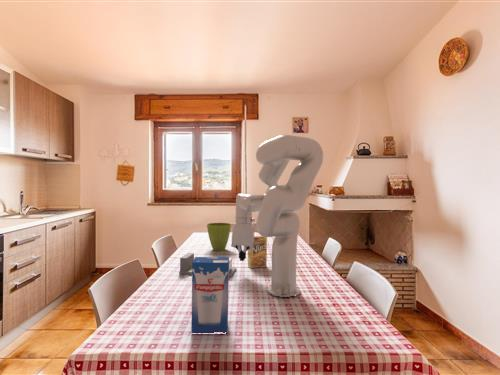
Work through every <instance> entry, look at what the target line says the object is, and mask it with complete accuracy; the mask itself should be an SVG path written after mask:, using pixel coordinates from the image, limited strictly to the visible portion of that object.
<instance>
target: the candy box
mask: <svg viewBox="0 0 500 375" xmlns="http://www.w3.org/2000/svg"><path fill="white" fill-rule="evenodd" d="M267 247H268V237H263V236H261V235H254V248H252V249H248V250H247V266H248V267H249V268H250V269H253V268H254V269H255V268H256V269H257V268H267V265H268V264H267V261H268V260H267V258H268V257H267V255H268V254H267V253H268V251H267V250H268V248H267Z"/></svg>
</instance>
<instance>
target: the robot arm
mask: <svg viewBox="0 0 500 375" xmlns="http://www.w3.org/2000/svg"><path fill="white" fill-rule="evenodd" d="M255 158H256V161H257V163H259V164H261V165H262V167H261V168H260V170H259V172H258V178H259V179H260V181H262V183H264V184H265V185H266V186H267V189H266V191H265V192H264V194H256V193H255V194H250V193H238V194H236V197H235V198H236V199H235V219H234V220H235V222H234V223H233V226H232V231H231V244H230V246H231V248H234V249H236V250H237V251H238V259H239V261H242V262H244V261H245V260H246V258H247V252H248V249H252V248H254V236H255V227H256V230H257V233H258V234H259V236H263V237H267V238H273V237H274V239H273V242H272V245H271V277H270V278H271V284H270V285H268V287H267V291H266V292H267V293H268V294H269V295H271V294H272V295H271V296H273V295H275V296H274V297H276V296H280V297H279V298H282V297H290V296H295V295H298V294H299V293H300V294H301V289H300V288H299V287H297V256H298V255H297V252H298V237H299V233H300V227H301V226H300V225H301V221H300V217H299V215H298V214H297V213H296V211H299V210H301V209H303V207H304V206H305V203H306V201H307V198H308V196H309V193H310V192H311V189H312V187H313V184H314V181H315V179H316V177H317V175H318V174H319V171H320V169H321V167H322V165H323V161H324V153H323V148H322V146H321V144H320V143H319V142H318V141H317V140H315V139H314V138H310V137H306V136H305V137H304V136H300V135H299V136H297V135H293V134H291V135H290V134H282V135H278V136H276V137H274V138H271V139H269V140H265V141H264V142H263V143H261V144H260V145H259V146H258V147H257V149H256V153H255ZM290 161H300V162H299V164H297V165H296V166H295V168H294V169H292V171H291V173H290V176H289V179H288V181H287V183H286V184H284V185H283V184H282V185H278V182H279V180H280V178H281V176H282V175H283V173H284V171H285V169H286V167H287V166H288V164H289V163H290ZM256 212H258V215H257V217H256V219H255V218H253V213H256ZM254 222H256V224H255V225H256V226H255V225H254ZM300 294H299V295H300ZM299 295H298V296H299ZM295 297H296V296H295ZM290 298H291V297H290Z"/></svg>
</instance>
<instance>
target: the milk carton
mask: <svg viewBox="0 0 500 375" xmlns="http://www.w3.org/2000/svg"><path fill="white" fill-rule="evenodd" d="M229 258H230V257H229V256H224V257H223V256H194V260H193V262H192V275H191V331H190V332H191V333H214V332H223V333H225V332H227V333H228V329H227V328H228V327H229V326H228V325H229V287H230V285H229V282H230V281H229V280H230V278H229Z"/></svg>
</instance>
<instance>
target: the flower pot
mask: <svg viewBox="0 0 500 375" xmlns="http://www.w3.org/2000/svg"><path fill="white" fill-rule="evenodd" d="M206 228H207V235H208V238H209V241H210V245H211V248H212V250H213V251H216V252H219V251H221V252H222V251H224V250H225V249H226V248H227V245H228V241H229V238H230V234H231V233H230V232H231V228H232V224H231V223H229V222H211V223H206Z"/></svg>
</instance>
